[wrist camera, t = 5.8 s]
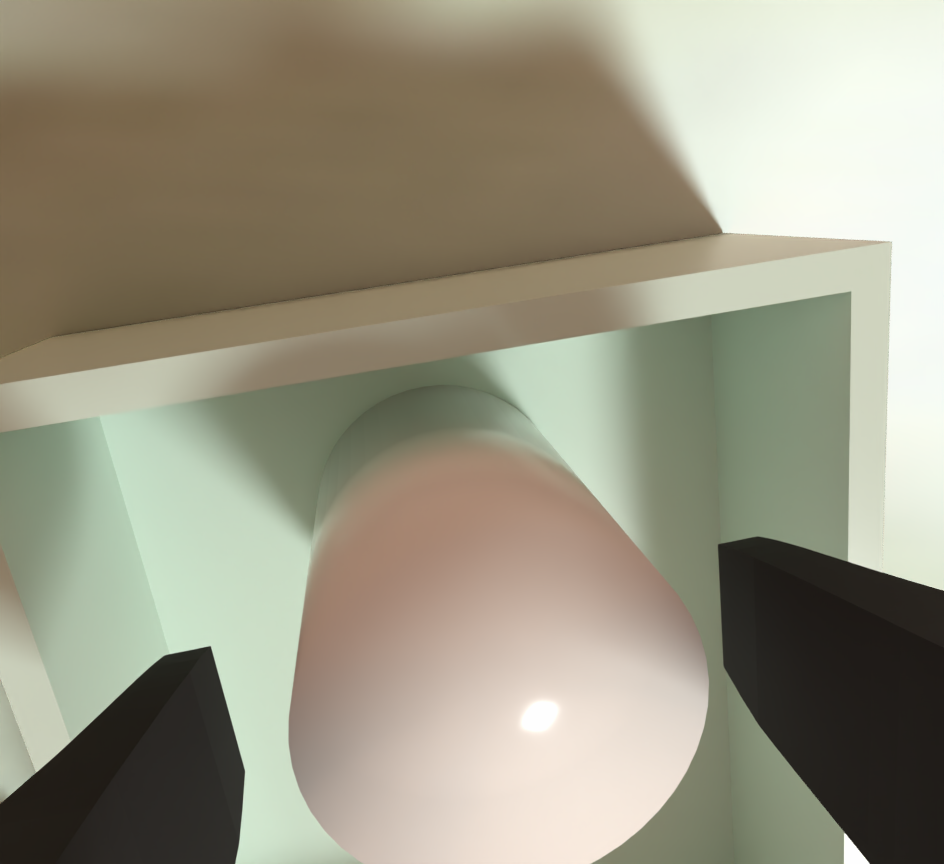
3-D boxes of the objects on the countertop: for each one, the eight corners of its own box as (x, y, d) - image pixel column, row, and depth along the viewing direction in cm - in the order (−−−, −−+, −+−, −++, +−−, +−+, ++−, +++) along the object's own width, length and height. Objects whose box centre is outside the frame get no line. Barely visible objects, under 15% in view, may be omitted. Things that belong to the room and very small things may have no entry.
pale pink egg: (569, 589, 16) (714, 844, 10) (341, 632, 16) (331, 932, 9) (548, 367, 15) (701, 488, 8) (295, 407, 14) (244, 570, 8)
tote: (748, 882, 20) (867, 1085, 16) (256, 1006, 19) (224, 1269, 14) (724, 233, 15) (891, 241, 11) (51, 336, 14) (-106, 400, 9)
